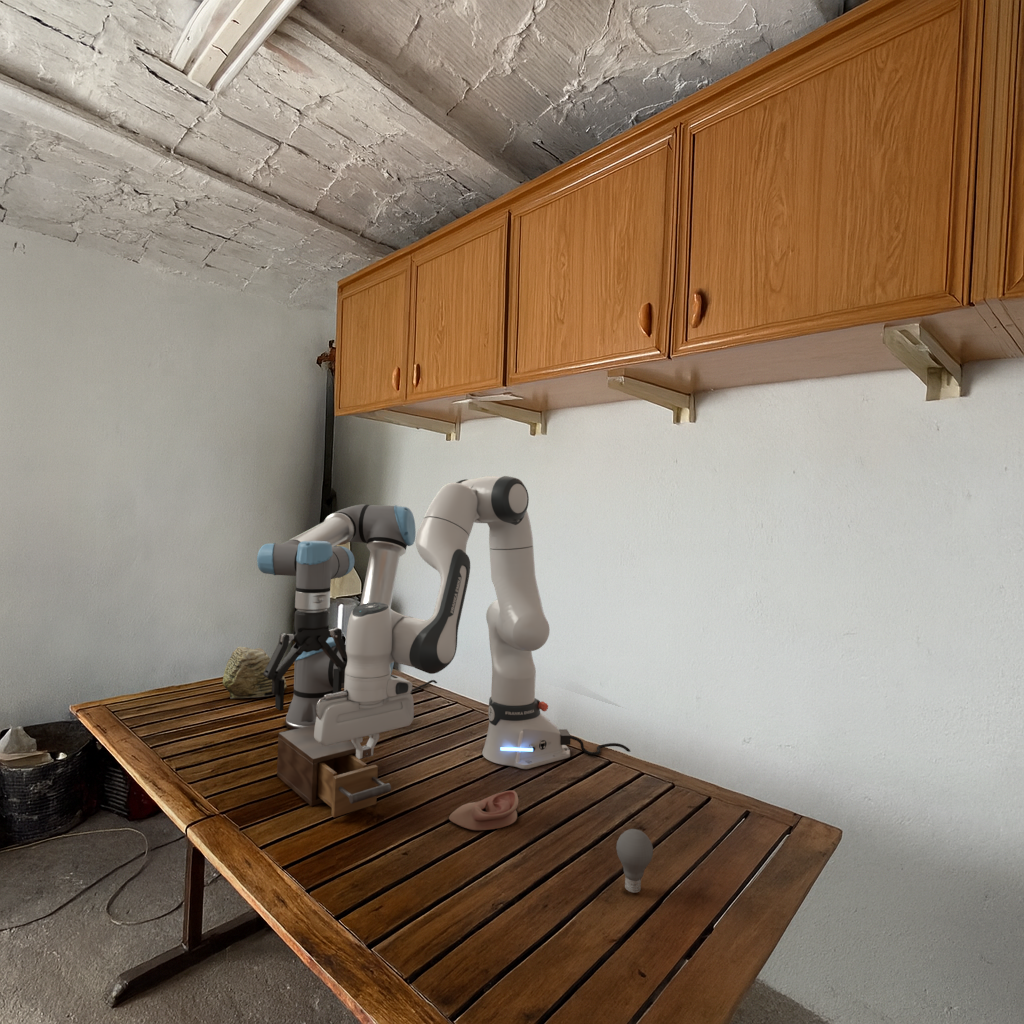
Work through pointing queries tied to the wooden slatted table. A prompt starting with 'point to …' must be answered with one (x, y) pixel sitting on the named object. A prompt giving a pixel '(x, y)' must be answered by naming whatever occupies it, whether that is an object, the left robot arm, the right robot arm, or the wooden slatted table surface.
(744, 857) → the wooden slatted table surface
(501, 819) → the anatomical model
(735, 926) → the wooden slatted table surface
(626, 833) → the light bulb
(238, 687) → the fossil
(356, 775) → the drawer
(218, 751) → the wooden slatted table surface
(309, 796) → the cabinet
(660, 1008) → the wooden slatted table surface
